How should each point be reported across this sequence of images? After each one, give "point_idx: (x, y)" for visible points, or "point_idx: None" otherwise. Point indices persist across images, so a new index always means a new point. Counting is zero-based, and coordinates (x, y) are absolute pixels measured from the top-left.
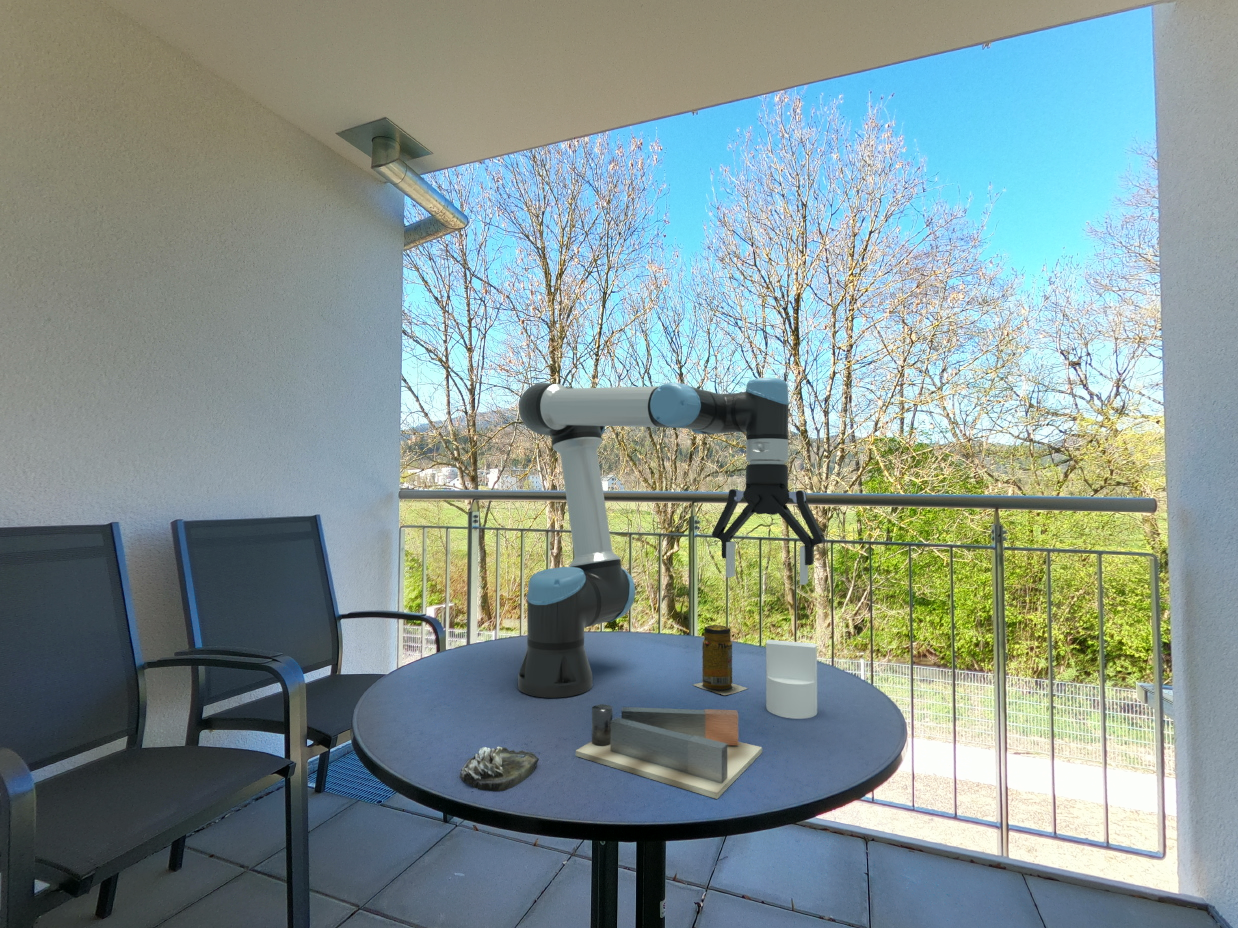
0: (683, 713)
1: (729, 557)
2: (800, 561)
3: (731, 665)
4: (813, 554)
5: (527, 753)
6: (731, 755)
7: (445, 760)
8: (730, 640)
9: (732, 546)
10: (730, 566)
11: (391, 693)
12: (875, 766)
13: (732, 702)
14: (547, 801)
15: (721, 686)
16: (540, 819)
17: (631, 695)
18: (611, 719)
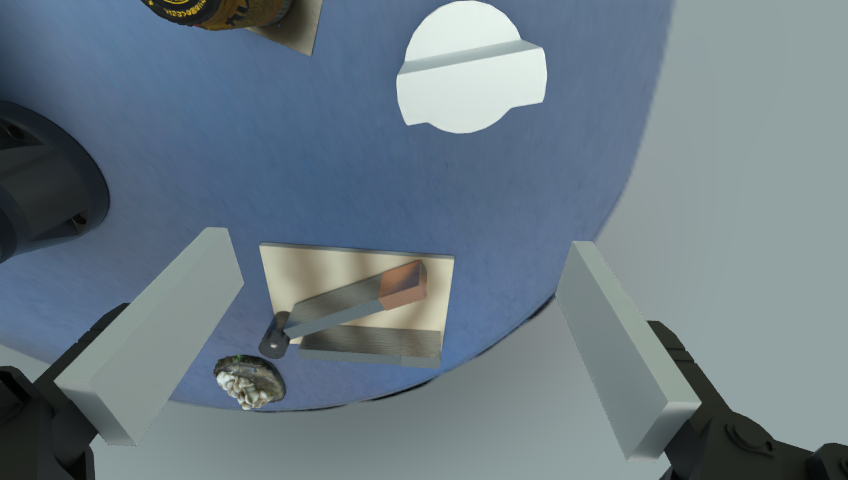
0: (360, 317)
1: (192, 357)
2: (594, 379)
3: None
4: (697, 377)
5: (252, 365)
6: (427, 291)
7: (200, 381)
8: None
9: (140, 387)
10: (217, 312)
11: None
12: (593, 231)
13: (342, 84)
14: (324, 392)
15: (282, 16)
16: (338, 406)
17: (171, 148)
18: (288, 340)
